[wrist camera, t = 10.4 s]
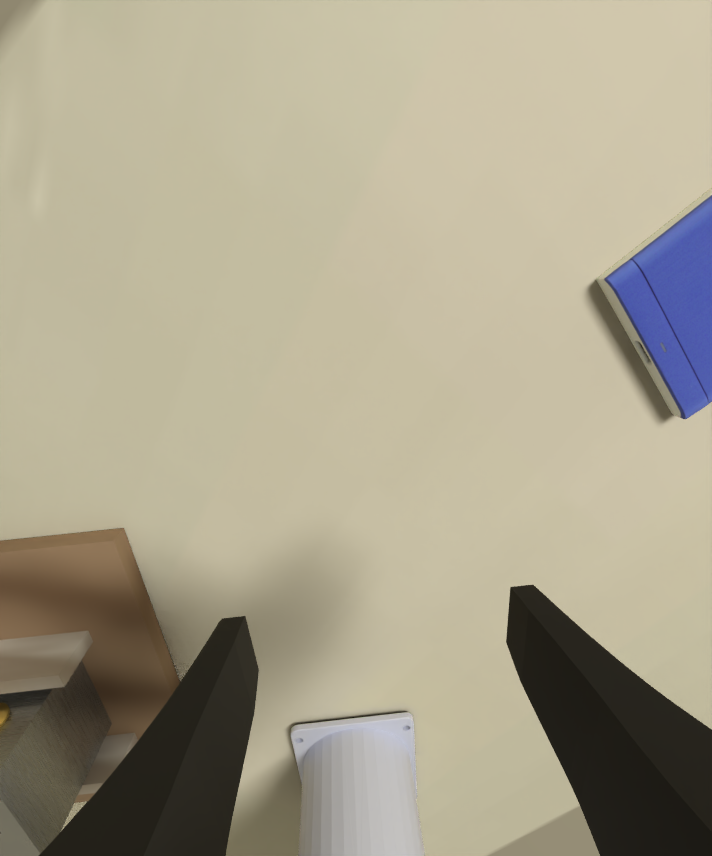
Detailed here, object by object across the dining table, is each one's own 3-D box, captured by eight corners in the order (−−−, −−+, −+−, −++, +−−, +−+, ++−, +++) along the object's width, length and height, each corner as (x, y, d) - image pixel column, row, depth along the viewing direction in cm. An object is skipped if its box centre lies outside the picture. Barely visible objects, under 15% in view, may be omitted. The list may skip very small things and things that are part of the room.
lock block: (112, 723, 24) (46, 861, 18) (44, 731, 24) (-43, 872, 18) (76, 647, 22) (-13, 780, 16) (0, 656, 22) (-116, 792, 16)
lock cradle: (211, 769, 28) (195, 836, 24) (34, 790, 27) (-5, 860, 24) (123, 528, 20) (83, 578, 17) (-121, 553, 20) (-209, 609, 17)
